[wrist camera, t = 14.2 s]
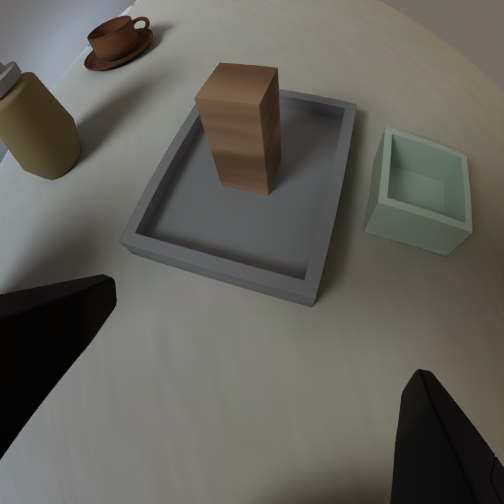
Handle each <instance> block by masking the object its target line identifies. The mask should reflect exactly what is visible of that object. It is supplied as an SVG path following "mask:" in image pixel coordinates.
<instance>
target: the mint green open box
mask: <svg viewBox="0 0 504 504" xmlns="http://www.w3.org/2000/svg"><path fill="white" fill-rule="evenodd" d="M364 232H365V233H369V234H372V235H376V236H379V237H383V238H387V239H390V240H394V241H397V242H401V243H404V244H407V245H411V246H414V247H418V248H421V249H424V250H428V251H431V252H434V253H437V254H441V255H444V256H447V255H448V254H450V253H451V252H452V251H453V250H454V249H455V248H456V247H457V246H459V245H460V244H461V243H462V242H463V241H464V240H465V239H466V238H467V237H468V236H469V235H471V234H472V208H471V193H470V182H469V173H468V164H467V157H466V154H464V153H461V152H459V151H456V150H453V149H451V148H448V147H445V146H443V145H440V144H437V143H434V142H432V141H429V140H426V139H423V138H420V137H417V136H414V135H411V134H408V133H404V132H401V131H398V130H395V129H391V128H388V127H385V129H384V132H383V135H382V138H381V141H380V144H379V147H378V150H377V153H376V156H375V159H374V164H373V172H372V180H371V188H370V195H369V202H368V208H367V214H366V221H365V226H364Z"/></svg>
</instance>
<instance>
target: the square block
mask: <svg viewBox="0 0 504 504" xmlns="http://www.w3.org/2000/svg"><path fill="white" fill-rule="evenodd" d="M195 102H196V105H197V108H198V111H199V115H200V118H201V121H202V124H203V127H204V131H205V134H206V137H207V140H208V143H209V147H210V150H211V153H212V156H213V159H214V163H215V166H216V169H217V172H218V175H219V178H220V182H221V185H222V186H227V187H231V188H236V189H241V190H245V191H250V192H255V193H259V194H263V195H269V192H270V189H271V186H272V184H273V181H274V178H275V175H276V172H277V170H278V167H279V164H280V161H281V158H282V157H281V128H280V104H279V83H278V68H274V67H266V66H256V65H244V64H230V63H219V65H218V66H217V67H216V69H215V70H214V71H213V73H212V74H211V75H210V77H209V78H208V80H207V81H206V82H205V84H204V85H203V87H202V88H201V89H200V91H199V92H198V94H197V95H196V97H195Z"/></svg>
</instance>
